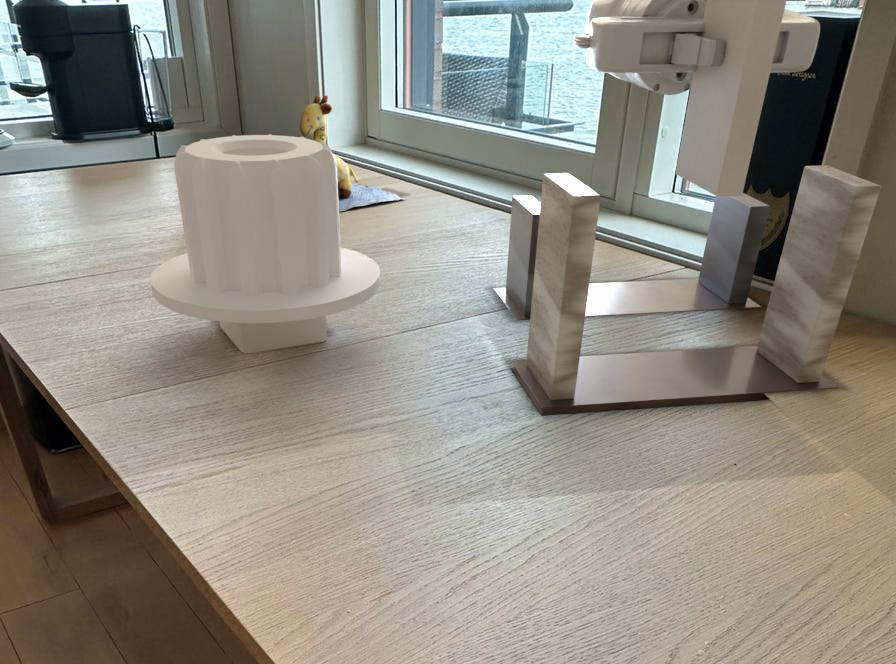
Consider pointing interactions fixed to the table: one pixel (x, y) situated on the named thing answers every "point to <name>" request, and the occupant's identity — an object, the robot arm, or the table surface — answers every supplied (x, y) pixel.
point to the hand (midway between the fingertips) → (739, 53)
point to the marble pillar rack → (700, 370)
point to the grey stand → (716, 287)
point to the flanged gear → (262, 242)
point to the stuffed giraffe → (340, 161)
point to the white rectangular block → (729, 95)
